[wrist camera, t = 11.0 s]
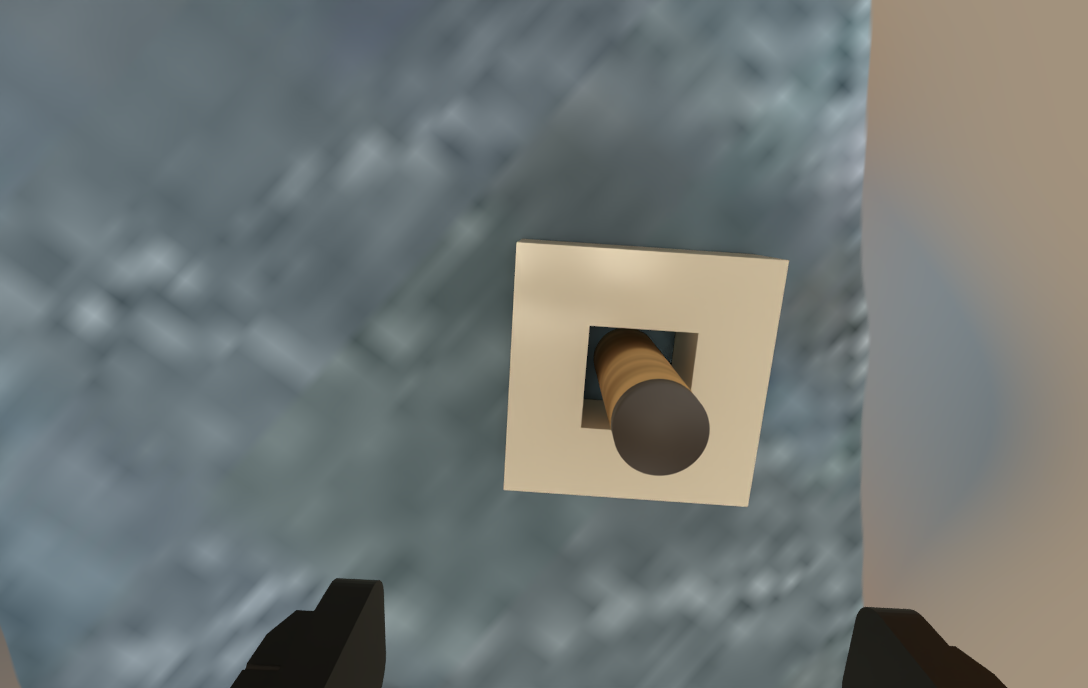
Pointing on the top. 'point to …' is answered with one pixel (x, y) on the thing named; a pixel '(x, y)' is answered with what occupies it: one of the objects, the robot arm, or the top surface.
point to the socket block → (698, 358)
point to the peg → (648, 405)
